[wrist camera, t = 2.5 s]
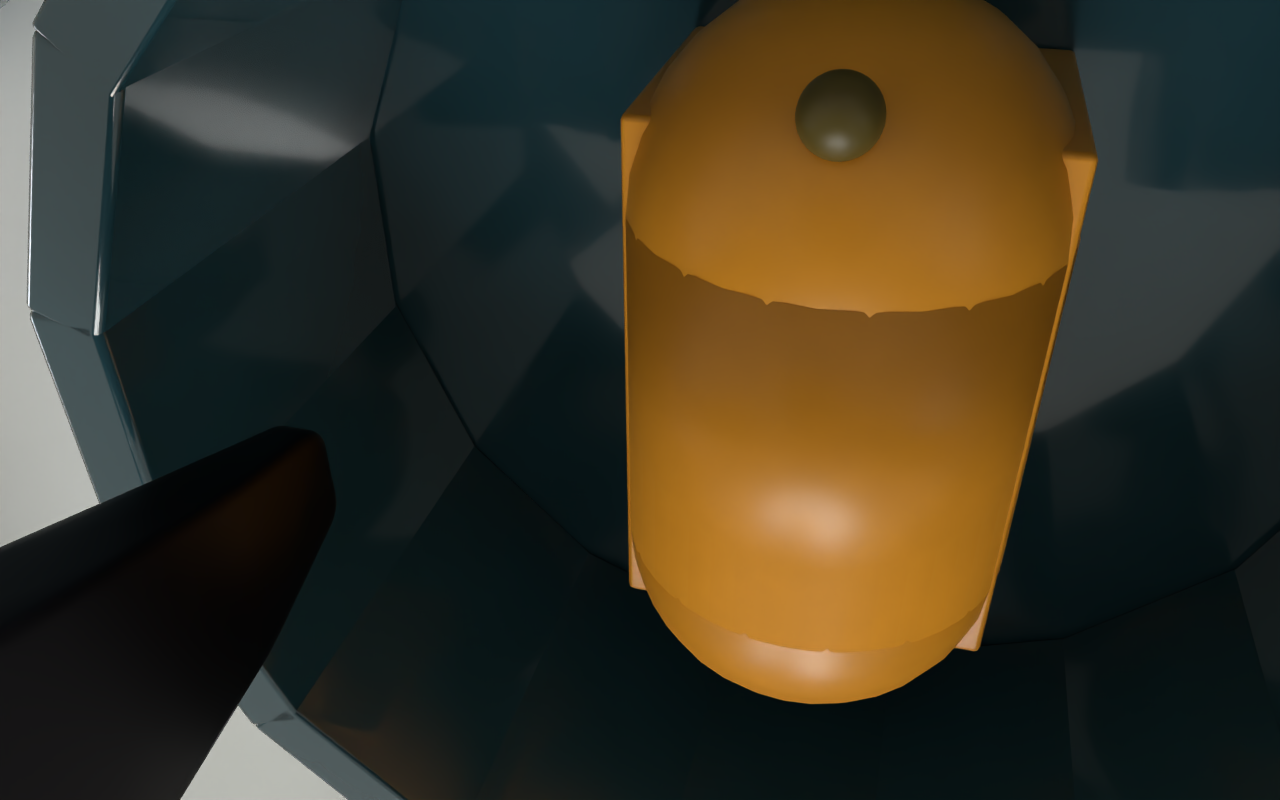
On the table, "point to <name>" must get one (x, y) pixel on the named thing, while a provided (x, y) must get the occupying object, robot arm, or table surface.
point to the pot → (596, 399)
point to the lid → (3, 2)
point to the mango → (841, 328)
